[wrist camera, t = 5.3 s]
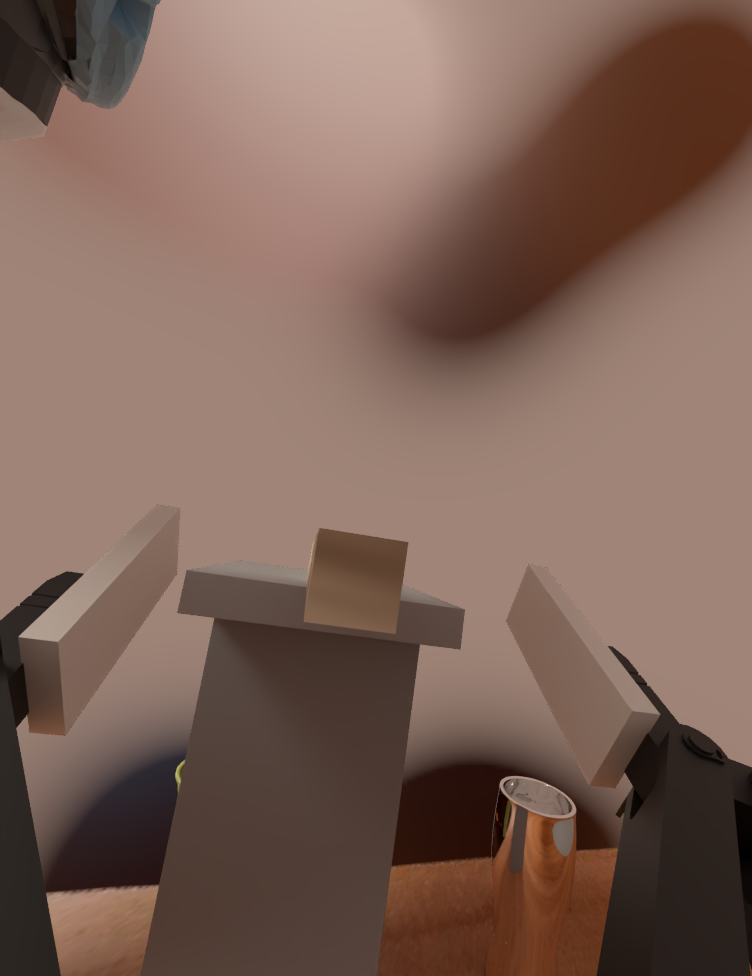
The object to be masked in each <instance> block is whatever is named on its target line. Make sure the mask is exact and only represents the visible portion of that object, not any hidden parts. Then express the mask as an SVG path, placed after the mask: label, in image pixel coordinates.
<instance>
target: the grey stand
mask: <svg viewBox="0 0 752 976" xmlns="http://www.w3.org/2000/svg"><path fill="white" fill-rule="evenodd" d="M307 578H308V570H303V569H296V568H289V567H283V566H276V565H269V564H262V563H255V562H248V561H242V560H240V561H235V562H229V563H224V564H218V565H212V566H207V567H202V568H196V569H191V570H187V571H186V576H185V580H184V585H183V589H182V594H181V599H180V603H179V607H178V613H181V614H189V615H197V616H205V617H212V618H214V623H213V628H212V633H211V637H210V642H209V647H208V652H207V657H206V662H205V667H204V672H203V676H202V681H201V686H200V691H199V696H198V700H197V706H196V710H195V715H194V720H193V725H192V730H191V734H190V740H189V744H188V749H187V754H186V759H185V763H184V768H183V773H182V778H181V783H180V788H179V793H178V798H177V802H176V807H175V812H174V817H173V822H172V826H171V831H170V836H169V841H168V846H167V851H166V856H165V861H164V865H163V870H162V875H161V880H160V885H159V890H158V894H157V899H156V904H155V909H154V914H153V919H152V923H151V928H150V933H149V938H148V943H147V948H146V953H145V957H144V962H143V967H142V972H141V976H377V973H378V965H379V957H380V949H381V942H382V934H383V926H384V918H385V911H386V903H387V895H388V887H389V880H390V872H391V864H392V856H393V848H394V840H395V833H396V825H397V817H398V810H399V802H400V794H401V786H402V779H403V771H404V763H405V756H406V748H407V740H408V732H409V723H410V716H411V709H412V701H413V694H414V686H415V678H416V670H417V662H418V654H419V647H420V644H422V645H429V646H437V647H445V648H453V649H460V648H461V639H462V630H463V621H464V613H465V610H464V609H462V608H459V607H457V606H454V605H452V604H450V603H447V602H445V601H442V600H440V599H437V598H435V597H432V596H429V595H427V594H425V593H422V592H420V591H417V590H415V589H412V588H410V587H407V586H405V585H402V591H401V598H400V605H399V612H398V620H397V627H396V634H392V633H384V632H377V631H369V630H362V629H354V628H346V627H339V626H331V625H323V624H316V623H308V622H304V612H305V601H306V589H307Z"/></svg>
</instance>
